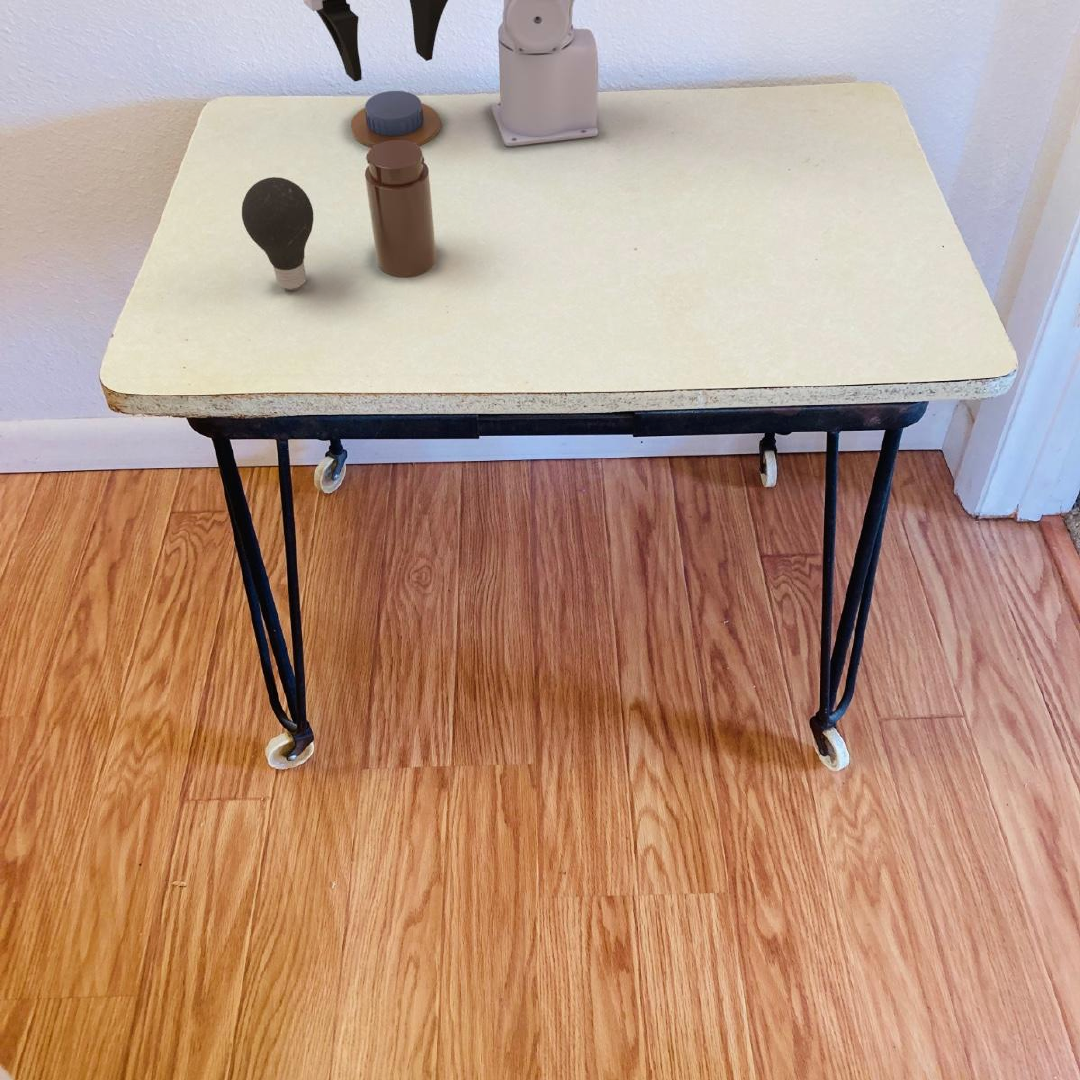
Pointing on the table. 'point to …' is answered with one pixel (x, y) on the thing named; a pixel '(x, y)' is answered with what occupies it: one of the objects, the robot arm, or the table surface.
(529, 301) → the table surface
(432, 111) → the coaster
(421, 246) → the jar
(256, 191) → the light bulb
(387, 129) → the jar lid
